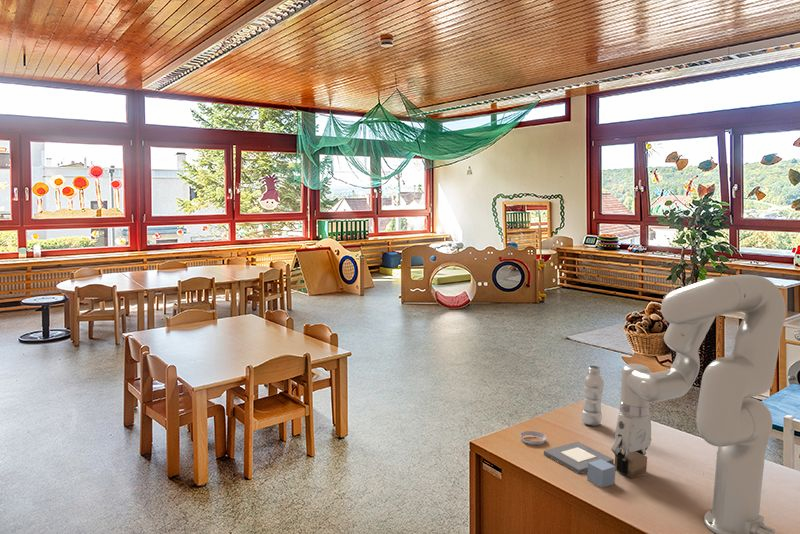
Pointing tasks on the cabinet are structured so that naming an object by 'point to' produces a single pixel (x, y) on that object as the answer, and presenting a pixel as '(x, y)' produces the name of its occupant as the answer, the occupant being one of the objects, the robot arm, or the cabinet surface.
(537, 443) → the lavender ring
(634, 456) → the walnut block
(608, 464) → the slate blue cube
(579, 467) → the building board
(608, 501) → the cabinet surface
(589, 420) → the plastic bottle
